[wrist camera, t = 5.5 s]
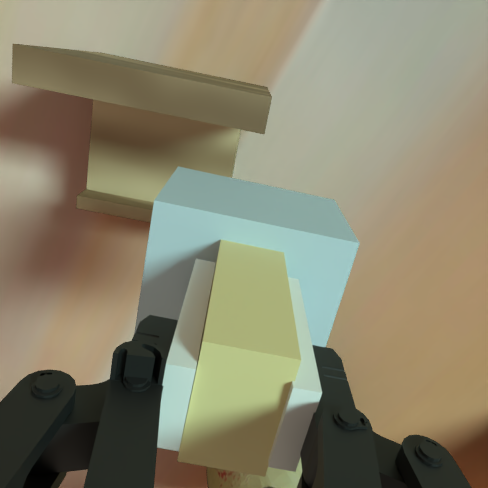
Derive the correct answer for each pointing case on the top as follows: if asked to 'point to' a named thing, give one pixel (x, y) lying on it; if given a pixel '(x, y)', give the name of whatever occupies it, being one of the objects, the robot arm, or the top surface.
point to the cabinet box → (244, 302)
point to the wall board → (145, 121)
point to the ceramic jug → (253, 478)
